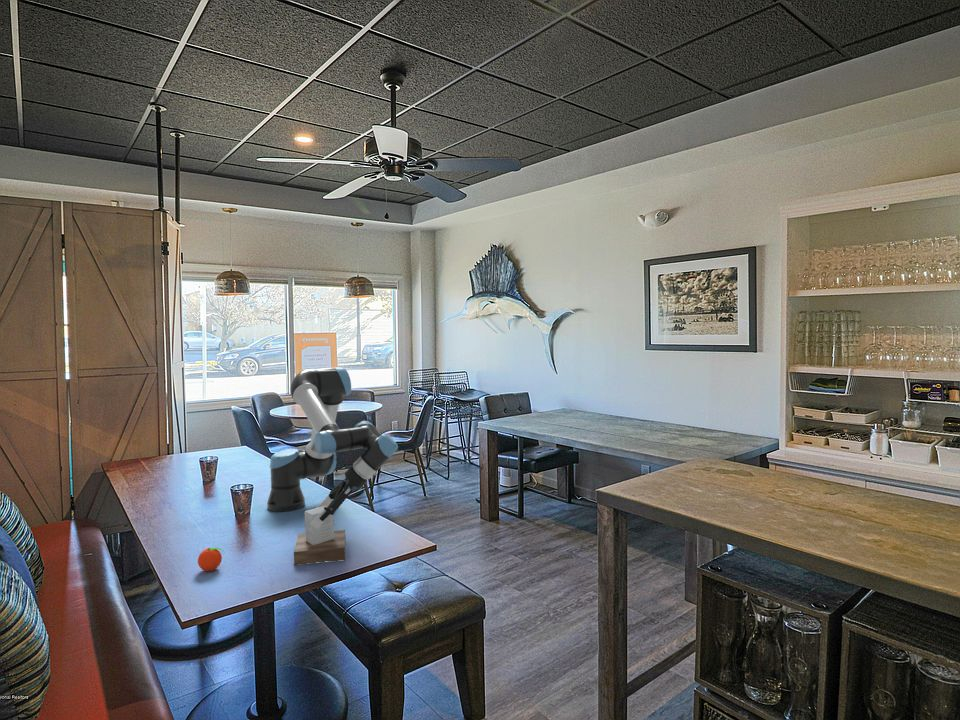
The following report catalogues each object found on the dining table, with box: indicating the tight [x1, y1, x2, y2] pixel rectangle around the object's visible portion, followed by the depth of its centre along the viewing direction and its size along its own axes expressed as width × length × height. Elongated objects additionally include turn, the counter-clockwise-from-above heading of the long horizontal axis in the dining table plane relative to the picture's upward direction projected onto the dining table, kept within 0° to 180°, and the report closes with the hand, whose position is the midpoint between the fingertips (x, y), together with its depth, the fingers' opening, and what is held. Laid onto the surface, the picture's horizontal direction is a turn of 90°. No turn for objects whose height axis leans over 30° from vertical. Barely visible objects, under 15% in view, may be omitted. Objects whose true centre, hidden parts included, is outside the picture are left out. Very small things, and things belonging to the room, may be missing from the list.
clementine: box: [197, 547, 226, 572], centre depth 181 cm, size 8×7×7 cm
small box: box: [304, 506, 335, 545], centre depth 193 cm, size 8×6×10 cm
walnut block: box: [293, 529, 346, 566], centre depth 194 cm, size 16×16×5 cm
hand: (315, 519), depth 193 cm, fingers open, 13 cm apart
